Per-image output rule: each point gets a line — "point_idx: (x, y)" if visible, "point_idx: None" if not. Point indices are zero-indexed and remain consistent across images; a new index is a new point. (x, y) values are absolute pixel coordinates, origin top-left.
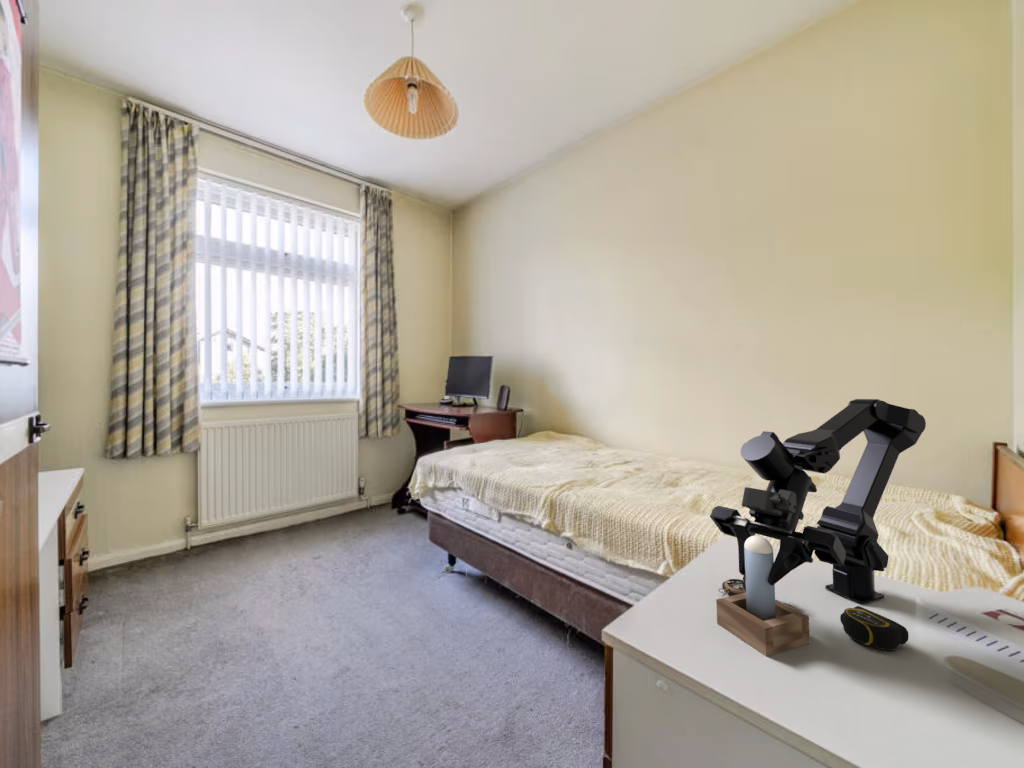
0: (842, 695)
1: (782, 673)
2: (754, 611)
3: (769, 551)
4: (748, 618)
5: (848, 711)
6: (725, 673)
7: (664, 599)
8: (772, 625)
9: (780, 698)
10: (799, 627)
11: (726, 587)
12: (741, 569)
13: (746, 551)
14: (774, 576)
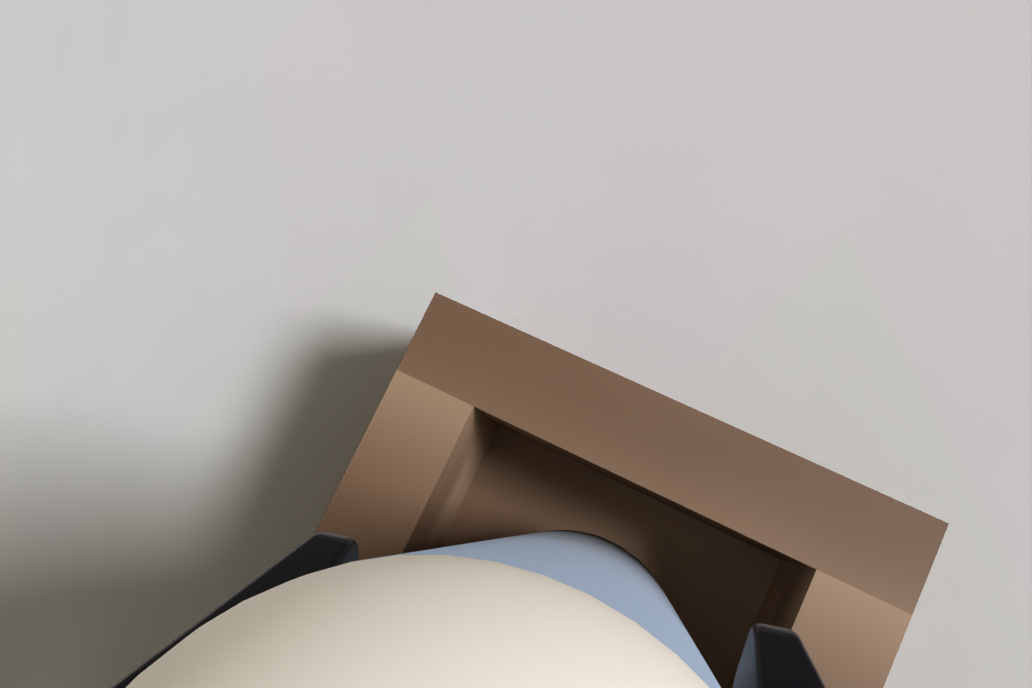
0: (105, 267)
1: (366, 235)
2: (580, 533)
3: None
4: (582, 361)
5: (83, 161)
6: (605, 9)
7: None
8: (400, 383)
9: (338, 25)
10: None
11: None
12: (764, 645)
13: (679, 652)
14: (241, 591)
